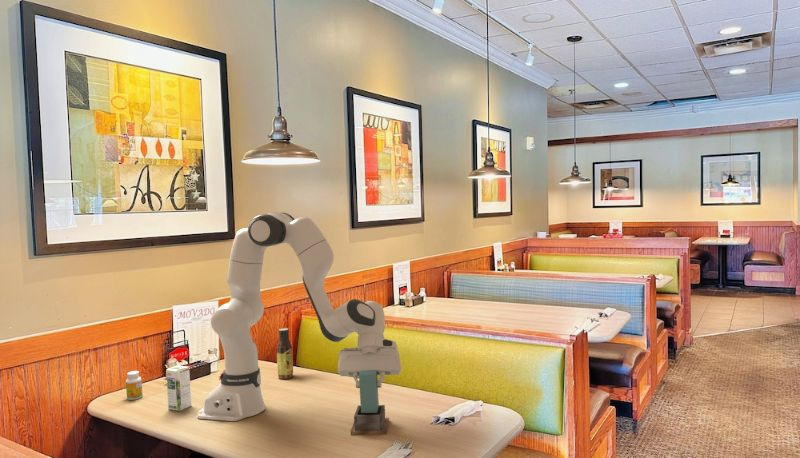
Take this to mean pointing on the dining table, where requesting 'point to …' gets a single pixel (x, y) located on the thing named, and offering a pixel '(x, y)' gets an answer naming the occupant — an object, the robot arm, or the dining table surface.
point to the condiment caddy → (370, 422)
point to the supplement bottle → (133, 385)
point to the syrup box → (178, 388)
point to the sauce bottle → (284, 355)
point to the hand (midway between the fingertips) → (368, 387)
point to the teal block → (368, 391)
